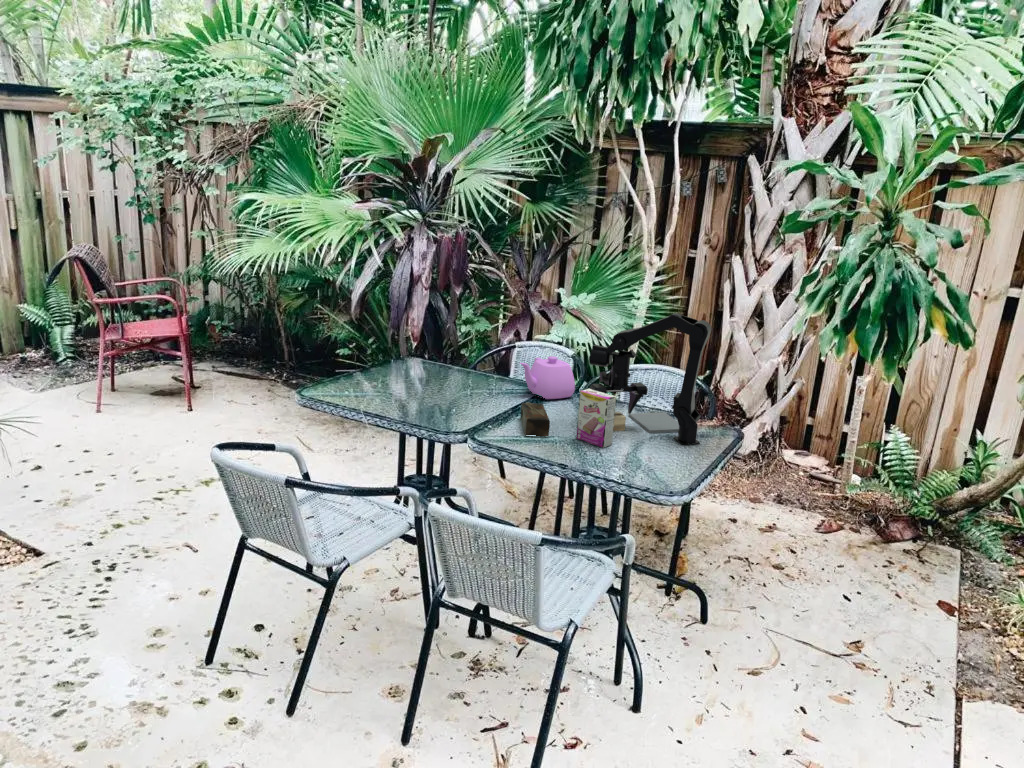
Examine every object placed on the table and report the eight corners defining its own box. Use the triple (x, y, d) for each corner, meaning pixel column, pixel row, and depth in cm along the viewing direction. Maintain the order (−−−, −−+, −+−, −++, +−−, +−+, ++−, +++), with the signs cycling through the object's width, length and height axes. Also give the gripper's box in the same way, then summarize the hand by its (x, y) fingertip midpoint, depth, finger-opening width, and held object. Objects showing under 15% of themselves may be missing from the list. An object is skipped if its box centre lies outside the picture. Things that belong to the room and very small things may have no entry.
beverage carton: (542, 419, 262) (544, 401, 260) (549, 438, 244) (550, 419, 242) (519, 418, 261) (520, 400, 260) (525, 438, 243) (526, 418, 241)
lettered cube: (624, 430, 254) (625, 416, 253) (610, 431, 253) (611, 417, 251) (618, 426, 259) (620, 411, 257) (605, 426, 257) (606, 412, 256)
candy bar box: (575, 439, 243) (578, 390, 239) (584, 436, 247) (588, 387, 242) (603, 449, 236) (607, 398, 232) (612, 445, 240) (617, 395, 235)
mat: (687, 431, 256) (687, 428, 256) (649, 433, 253) (649, 430, 252) (664, 414, 273) (664, 412, 273) (628, 416, 269) (628, 413, 269)
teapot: (552, 384, 305) (554, 348, 301) (580, 399, 287) (583, 360, 283) (501, 389, 294) (503, 352, 290) (528, 405, 276) (530, 365, 272)
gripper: (636, 362, 260) (632, 405, 264) (585, 363, 255) (582, 407, 259) (650, 370, 249) (645, 415, 254) (597, 372, 245) (593, 417, 249)
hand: (616, 413), depth 254 cm, fingers open, 9 cm apart
